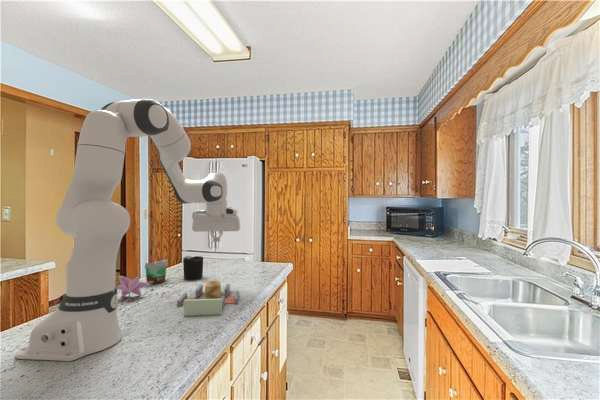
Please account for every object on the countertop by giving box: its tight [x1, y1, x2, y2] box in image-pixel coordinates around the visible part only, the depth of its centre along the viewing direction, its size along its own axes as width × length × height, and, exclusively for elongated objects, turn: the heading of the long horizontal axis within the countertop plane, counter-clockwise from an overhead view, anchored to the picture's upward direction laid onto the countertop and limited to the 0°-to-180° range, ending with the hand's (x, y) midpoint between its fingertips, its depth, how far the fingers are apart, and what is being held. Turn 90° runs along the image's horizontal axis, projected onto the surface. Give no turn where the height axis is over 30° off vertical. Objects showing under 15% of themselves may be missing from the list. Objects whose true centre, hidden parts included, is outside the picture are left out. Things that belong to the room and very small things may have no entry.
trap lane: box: [176, 283, 240, 316], centre depth 114 cm, size 22×26×5 cm
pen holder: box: [182, 255, 204, 281], centre depth 148 cm, size 9×9×10 cm
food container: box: [144, 257, 169, 285], centre depth 140 cm, size 12×6×10 cm, turn 168°
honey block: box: [204, 280, 222, 299], centre depth 122 cm, size 6×8×5 cm
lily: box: [116, 275, 151, 298], centre depth 117 cm, size 12×12×10 cm
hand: (216, 241), depth 131 cm, fingers closed
